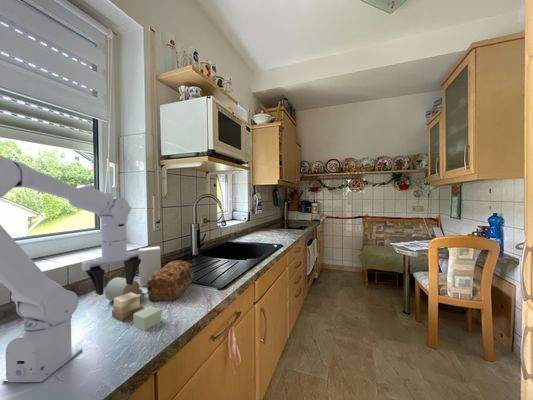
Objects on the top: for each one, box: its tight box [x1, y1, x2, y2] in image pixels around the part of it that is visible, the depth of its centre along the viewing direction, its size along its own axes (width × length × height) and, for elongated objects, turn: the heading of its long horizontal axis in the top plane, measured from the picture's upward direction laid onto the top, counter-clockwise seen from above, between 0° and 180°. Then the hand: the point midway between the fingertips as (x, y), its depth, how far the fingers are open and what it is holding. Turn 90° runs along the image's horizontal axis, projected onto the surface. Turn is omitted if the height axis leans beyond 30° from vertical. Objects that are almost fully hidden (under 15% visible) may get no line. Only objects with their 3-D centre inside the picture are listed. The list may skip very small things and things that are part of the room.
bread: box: [146, 259, 194, 302], centre depth 86 cm, size 19×11×10 cm, turn 179°
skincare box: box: [138, 245, 162, 288], centre depth 94 cm, size 8×6×15 cm
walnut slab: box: [111, 304, 144, 323], centre depth 68 cm, size 6×6×2 cm
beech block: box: [113, 292, 141, 314], centre depth 68 cm, size 5×5×4 cm
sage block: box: [132, 305, 162, 331], centre depth 63 cm, size 5×5×4 cm
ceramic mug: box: [104, 276, 143, 302], centre depth 80 cm, size 11×8×8 cm
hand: (115, 288), depth 63 cm, fingers open, 7 cm apart
